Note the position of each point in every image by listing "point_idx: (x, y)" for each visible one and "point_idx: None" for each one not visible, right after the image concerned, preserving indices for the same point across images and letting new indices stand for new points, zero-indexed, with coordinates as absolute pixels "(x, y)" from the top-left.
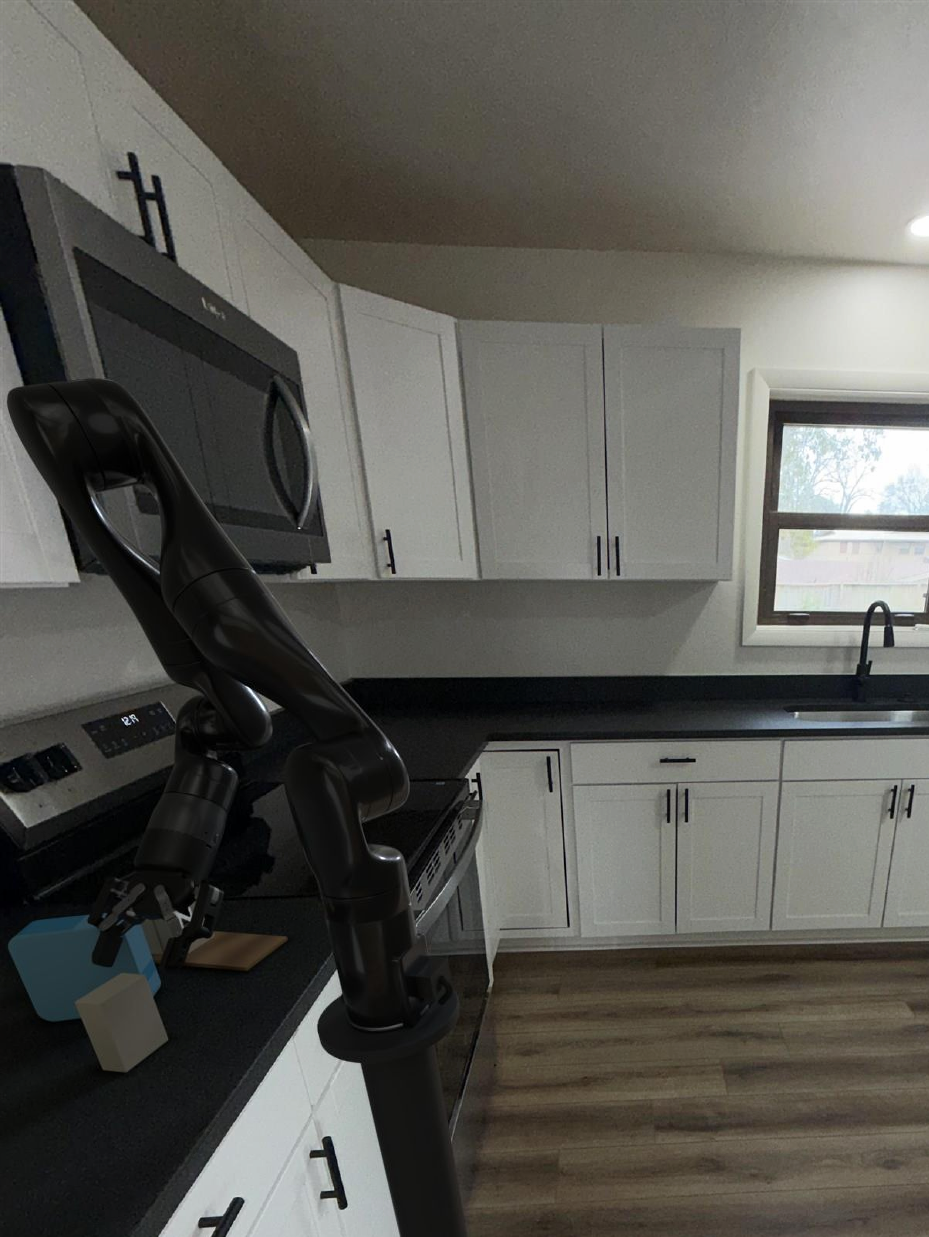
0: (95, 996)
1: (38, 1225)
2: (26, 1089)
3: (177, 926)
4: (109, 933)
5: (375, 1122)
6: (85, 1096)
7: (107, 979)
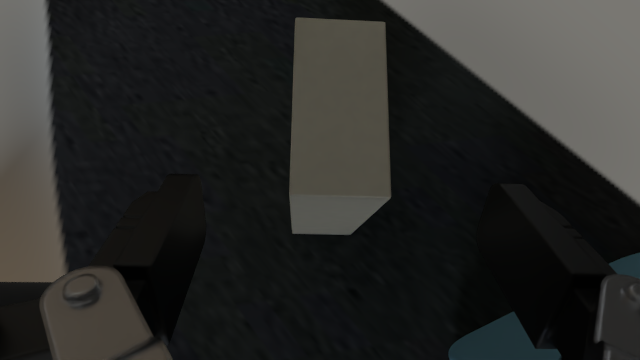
0: (346, 52)
1: None
2: (441, 65)
3: (78, 323)
4: (566, 280)
5: (7, 293)
6: None
7: None
